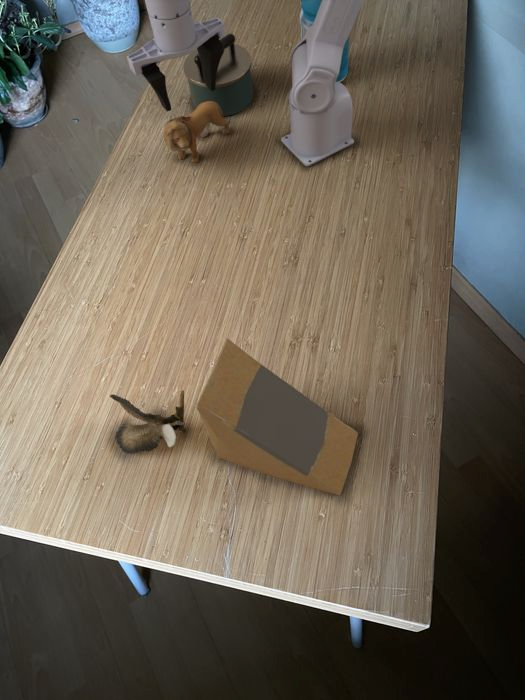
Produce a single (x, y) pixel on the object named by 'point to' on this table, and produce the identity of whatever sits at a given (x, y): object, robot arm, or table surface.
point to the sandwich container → (273, 425)
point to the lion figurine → (193, 128)
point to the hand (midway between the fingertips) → (188, 97)
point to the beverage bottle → (310, 7)
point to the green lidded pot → (223, 78)
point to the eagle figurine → (148, 428)
